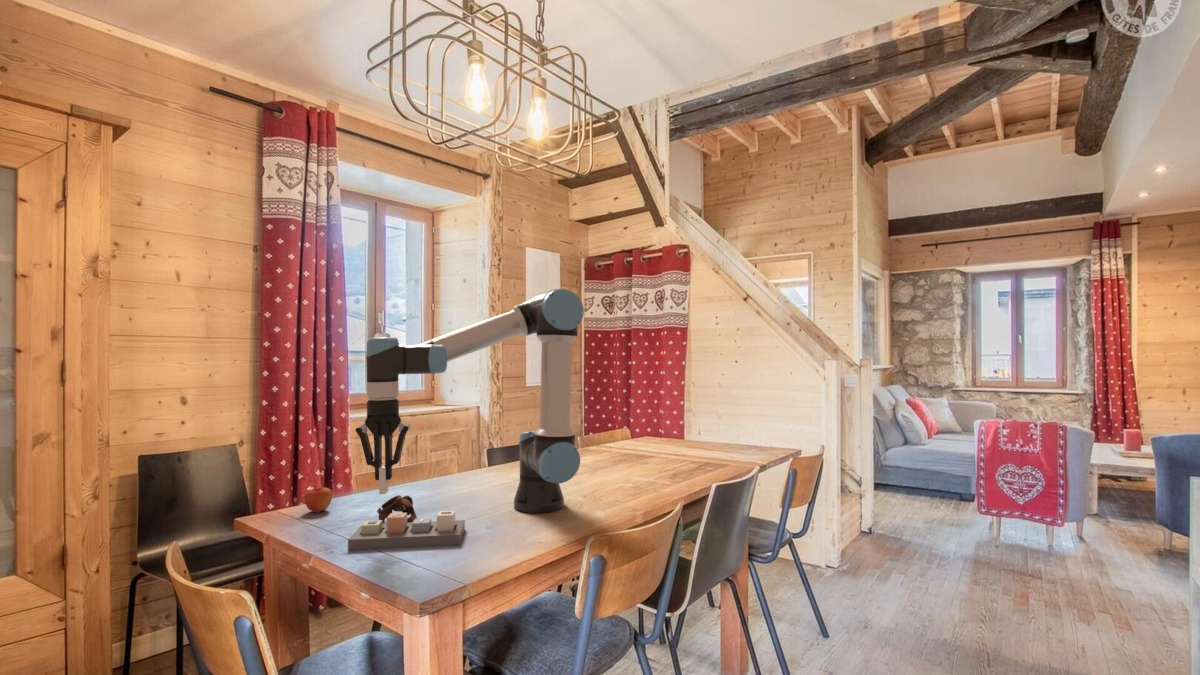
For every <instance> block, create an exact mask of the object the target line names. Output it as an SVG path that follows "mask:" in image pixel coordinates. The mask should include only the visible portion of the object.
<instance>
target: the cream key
mask: <svg viewBox="0 0 1200 675" xmlns="http://www.w3.org/2000/svg"><path fill="white" fill-rule="evenodd" d="M436 521H437V531H453V530H454V528H455V521H456V510H442V511H441V510H440V511H439V510H438V513H437V515H436Z"/></svg>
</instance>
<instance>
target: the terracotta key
mask: <svg viewBox="0 0 1200 675" xmlns="http://www.w3.org/2000/svg"><path fill="white" fill-rule="evenodd" d="M407 523H408V515H407V513H402V512H392V513H391V514H390V515H389V516H388V517H387V518H386V524H387V533H404V532H405V531H406V529H407Z"/></svg>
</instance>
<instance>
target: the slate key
mask: <svg viewBox="0 0 1200 675" xmlns="http://www.w3.org/2000/svg"><path fill="white" fill-rule="evenodd" d="M431 522H432V518H431V517H429V518H427V517H426V518H417V519H415V520H414V521H413V523H412V522H411V523H412V532H430V531H431Z"/></svg>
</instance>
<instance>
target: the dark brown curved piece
mask: <svg viewBox="0 0 1200 675" xmlns="http://www.w3.org/2000/svg"><path fill="white" fill-rule="evenodd" d="M413 502H414V501H413V498H412V497H411V496H410V495H405V496H401V495H398V494H397V495H395V496H393V497H390V498H389V499H388V500H386V501H385V502H384V503H383V504H381V507H379V508H377V510H376V512H377V514H378V520H383V523H384V522H385V520H386V519H387V517H388V516H389V515H390V514H391V513H393V512H395V513H407V516H409V520H410V521H411V522H410V523H412V522H413V521H414V520H415V519H418V517H417V513H416V511H415V508H414V506H413V505H414V503H413Z"/></svg>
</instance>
